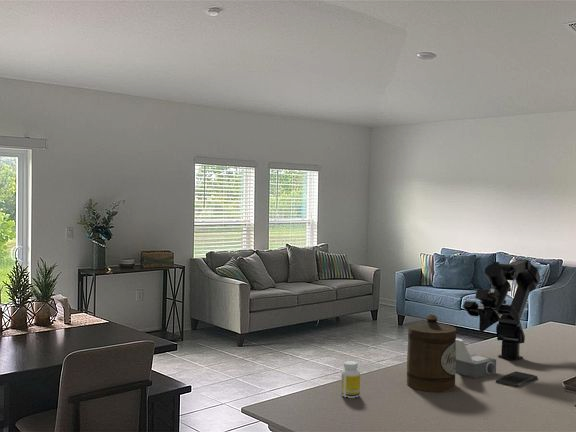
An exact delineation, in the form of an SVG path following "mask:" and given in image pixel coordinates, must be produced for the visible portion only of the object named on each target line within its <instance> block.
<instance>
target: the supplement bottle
mask: <svg viewBox="0 0 576 432" xmlns="http://www.w3.org/2000/svg"><path fill="white" fill-rule="evenodd" d="M358 367H359V363H358V362H357V361H355V360H354V361H353V360H352V361H351V360H347V361H345V362H344V363H343V368H344V369H342V371H341V383H340V384H341V386H340V388H341V390H340V391H341V396H342V397H343V396H344V397H343V398H346V397H348V398H347V399H356V398H355V397H357V398H359V397H360V396H361V394H360V393H361V391H360V390H361V371H360V370H359V368H358ZM359 395H360V396H359ZM358 396H359V397H358Z"/></svg>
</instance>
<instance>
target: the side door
mask: <svg viewBox="0 0 576 432" xmlns="http://www.w3.org/2000/svg"><path fill="white" fill-rule="evenodd" d="M471 355H472V354H470V351H469V350H468V347H467V345H466V343H465V341H464V339H460V338H457V337H456V360H458V361H462V362H465V363H469V364H473V365H474V362H473V360H472V358H471Z"/></svg>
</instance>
